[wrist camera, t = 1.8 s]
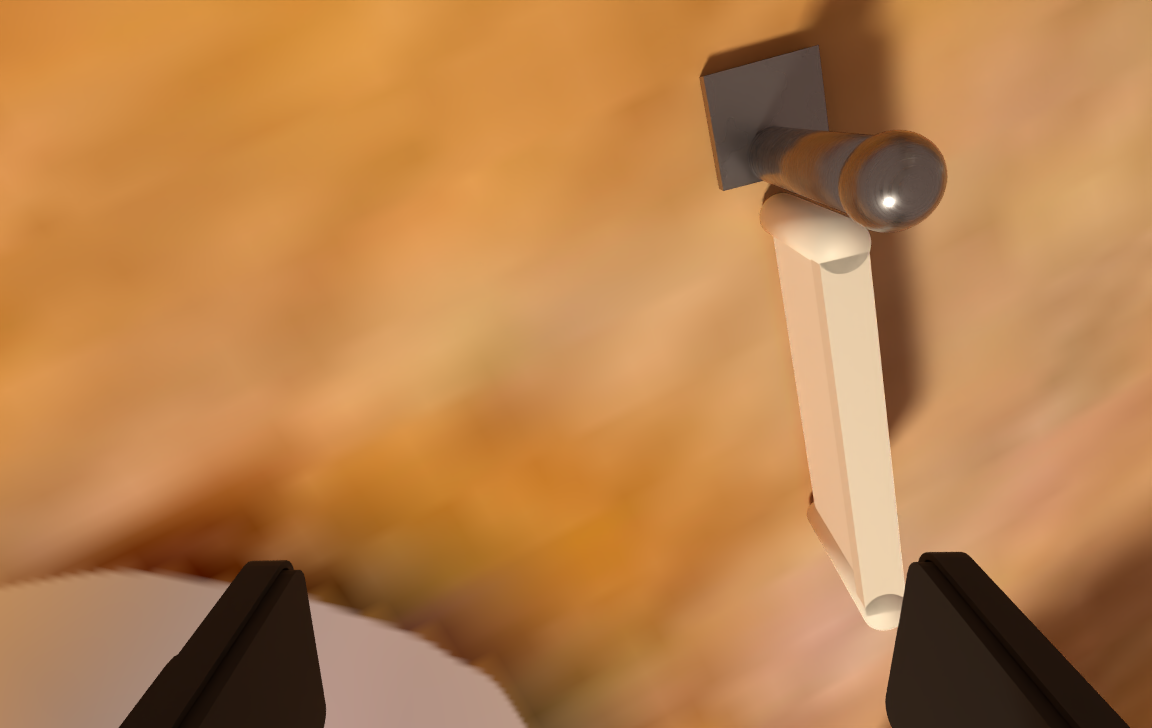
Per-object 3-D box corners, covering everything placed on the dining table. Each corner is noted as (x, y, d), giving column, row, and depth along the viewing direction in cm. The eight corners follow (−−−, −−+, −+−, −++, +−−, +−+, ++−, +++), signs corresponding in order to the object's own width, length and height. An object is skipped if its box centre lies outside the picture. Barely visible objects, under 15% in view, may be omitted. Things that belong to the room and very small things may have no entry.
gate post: (811, 47, 30) (1005, -5, 16) (826, 169, 32) (1012, 215, 18) (699, 77, 31) (798, 52, 17) (720, 196, 32) (825, 261, 19)
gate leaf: (799, 187, 32) (868, 212, 24) (845, 523, 38) (911, 625, 31) (756, 198, 32) (811, 226, 24) (809, 531, 38) (866, 634, 31)
